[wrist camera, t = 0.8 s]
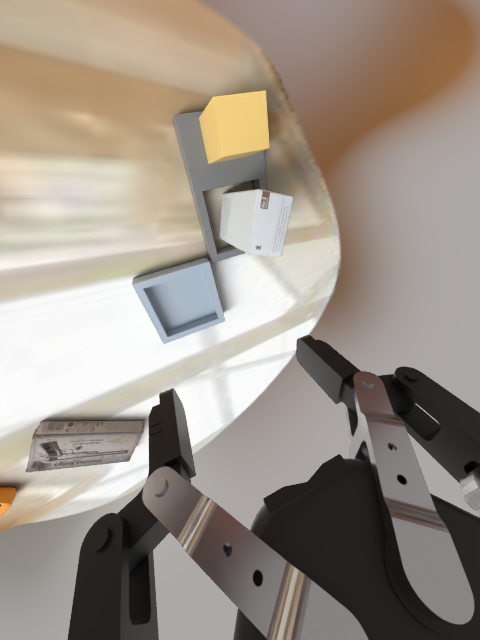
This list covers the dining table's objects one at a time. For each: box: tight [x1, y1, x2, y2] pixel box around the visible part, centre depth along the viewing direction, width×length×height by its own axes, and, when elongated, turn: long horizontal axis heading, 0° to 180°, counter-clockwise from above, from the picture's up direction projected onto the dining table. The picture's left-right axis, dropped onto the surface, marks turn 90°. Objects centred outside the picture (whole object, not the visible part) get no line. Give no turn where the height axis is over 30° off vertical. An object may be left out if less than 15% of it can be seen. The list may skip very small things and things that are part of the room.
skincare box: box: [219, 189, 294, 256], centre depth 25 cm, size 6×4×12 cm
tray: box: [132, 257, 225, 344], centre depth 32 cm, size 11×11×2 cm
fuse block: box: [173, 90, 269, 263], centre depth 25 cm, size 16×10×8 cm, turn 10°
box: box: [26, 421, 143, 472], centre depth 40 cm, size 11×17×3 cm, turn 60°
